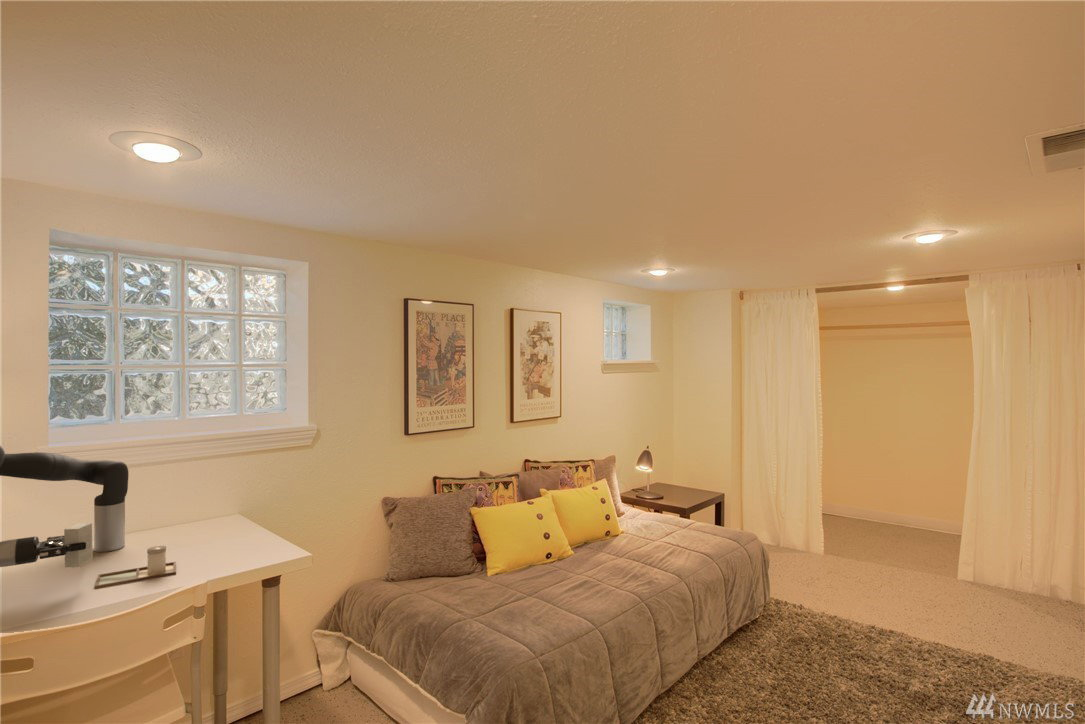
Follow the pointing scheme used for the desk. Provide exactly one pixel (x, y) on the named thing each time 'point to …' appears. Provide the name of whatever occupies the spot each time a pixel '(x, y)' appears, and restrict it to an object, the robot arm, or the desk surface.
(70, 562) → the skincare box
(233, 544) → the desk surface
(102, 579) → the organizer
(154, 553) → the cream jar
